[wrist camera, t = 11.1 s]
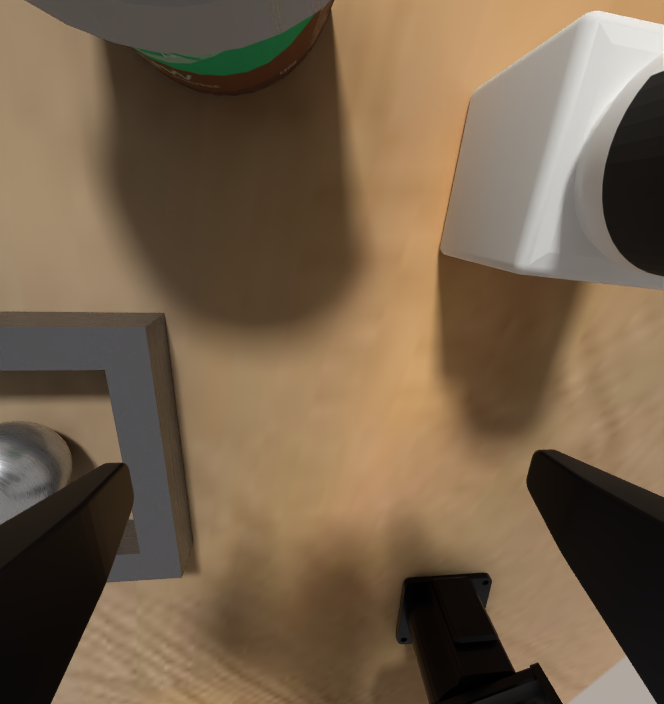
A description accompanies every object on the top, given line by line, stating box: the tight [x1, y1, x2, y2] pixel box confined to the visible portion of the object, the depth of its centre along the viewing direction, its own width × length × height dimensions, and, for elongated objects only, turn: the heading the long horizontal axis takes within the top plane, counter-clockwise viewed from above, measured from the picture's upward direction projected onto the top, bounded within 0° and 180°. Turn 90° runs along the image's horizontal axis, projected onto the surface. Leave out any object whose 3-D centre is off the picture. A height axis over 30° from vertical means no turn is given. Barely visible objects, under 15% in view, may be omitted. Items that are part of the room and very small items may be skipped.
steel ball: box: [0, 421, 72, 525], centre depth 18 cm, size 5×5×5 cm
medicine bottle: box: [440, 11, 664, 290], centre depth 12 cm, size 7×7×12 cm
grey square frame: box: [0, 312, 193, 582], centre depth 19 cm, size 15×15×2 cm
